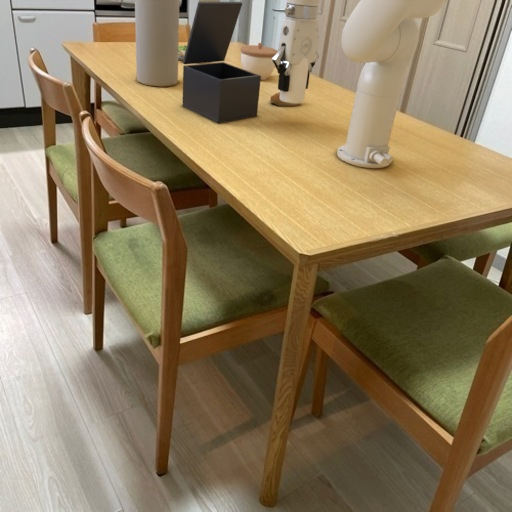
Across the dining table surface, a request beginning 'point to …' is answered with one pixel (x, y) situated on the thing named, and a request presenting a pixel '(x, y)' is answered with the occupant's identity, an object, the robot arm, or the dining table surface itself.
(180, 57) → the salad plate
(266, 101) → the dining table surface
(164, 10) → the cylinder vase
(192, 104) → the bin
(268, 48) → the lidded bowl
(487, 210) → the dining table surface
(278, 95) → the pastry
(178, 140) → the dining table surface
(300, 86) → the can
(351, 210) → the dining table surface
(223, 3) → the bin lid
